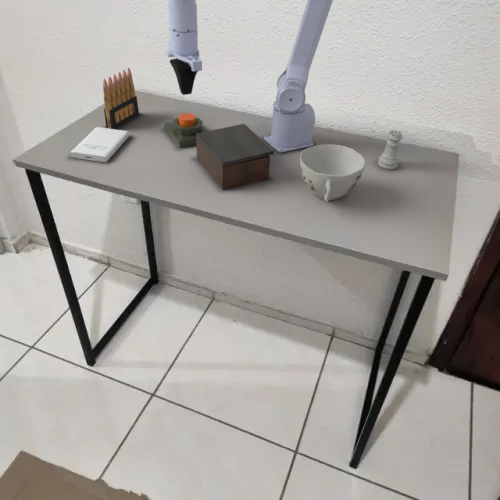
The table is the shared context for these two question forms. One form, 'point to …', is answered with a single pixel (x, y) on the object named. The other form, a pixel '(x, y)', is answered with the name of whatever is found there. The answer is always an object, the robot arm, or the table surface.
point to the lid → (234, 144)
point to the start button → (187, 119)
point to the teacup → (331, 170)
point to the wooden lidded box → (233, 169)
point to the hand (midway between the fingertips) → (186, 93)
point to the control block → (184, 132)
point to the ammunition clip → (119, 100)
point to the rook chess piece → (391, 151)
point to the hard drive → (100, 144)
